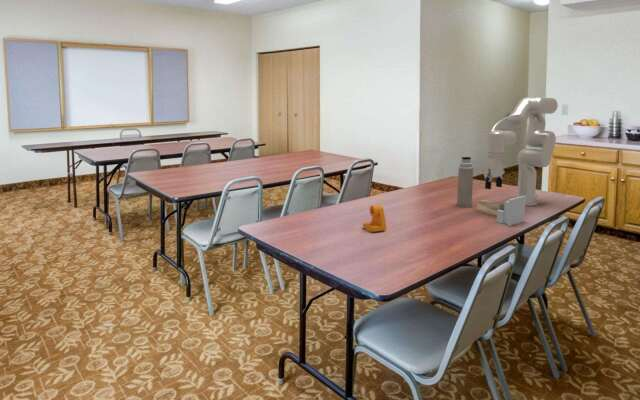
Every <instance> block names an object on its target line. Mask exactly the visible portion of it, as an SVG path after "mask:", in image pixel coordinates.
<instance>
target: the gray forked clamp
mask: <svg viewBox="0 0 640 400" xmlns="http://www.w3.org/2000/svg"><path fill="white" fill-rule="evenodd" d="M504 203H505V205H504V211H502V210H497V215H496V223H499V224H505V225H506V226H507V227H511V226H513V225H517V224H520V223H523V222H525V216H526V215H525V214H526V206H525V203H526V196H521V197H517V196H516V197H512V198H509V199H508V200H506V201H504Z"/></svg>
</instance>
